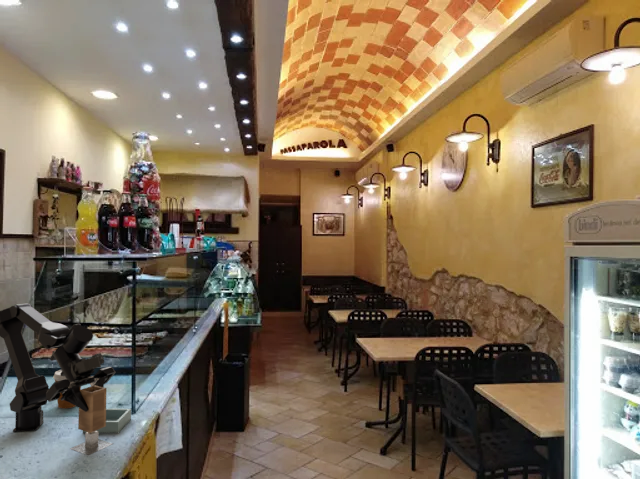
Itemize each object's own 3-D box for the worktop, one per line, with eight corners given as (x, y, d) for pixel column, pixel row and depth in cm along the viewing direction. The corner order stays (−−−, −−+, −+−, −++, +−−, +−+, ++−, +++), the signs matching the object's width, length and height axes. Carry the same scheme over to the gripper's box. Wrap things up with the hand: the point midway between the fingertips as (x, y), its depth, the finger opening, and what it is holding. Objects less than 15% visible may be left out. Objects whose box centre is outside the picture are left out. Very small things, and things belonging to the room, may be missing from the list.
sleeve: (78, 429, 131) (79, 390, 131) (93, 422, 135) (94, 385, 135) (90, 432, 128) (91, 393, 128) (105, 426, 133) (106, 388, 133)
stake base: (69, 450, 130) (69, 434, 130) (94, 439, 137) (94, 424, 137) (88, 457, 127) (88, 440, 127) (113, 445, 134) (113, 429, 134)
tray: (82, 434, 140) (82, 421, 140) (97, 420, 151) (98, 408, 151) (118, 435, 141) (118, 422, 141) (130, 421, 151) (131, 408, 151)
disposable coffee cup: (62, 412, 157) (62, 377, 157) (47, 406, 162) (47, 372, 162) (89, 404, 165) (89, 370, 165) (73, 398, 170) (74, 366, 170)
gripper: (53, 353, 125) (79, 401, 120) (111, 339, 142) (137, 381, 137) (34, 377, 129) (59, 425, 124) (93, 361, 145) (117, 403, 141)
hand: (95, 407), depth 131 cm, fingers closed on sleeve, 5 cm apart
